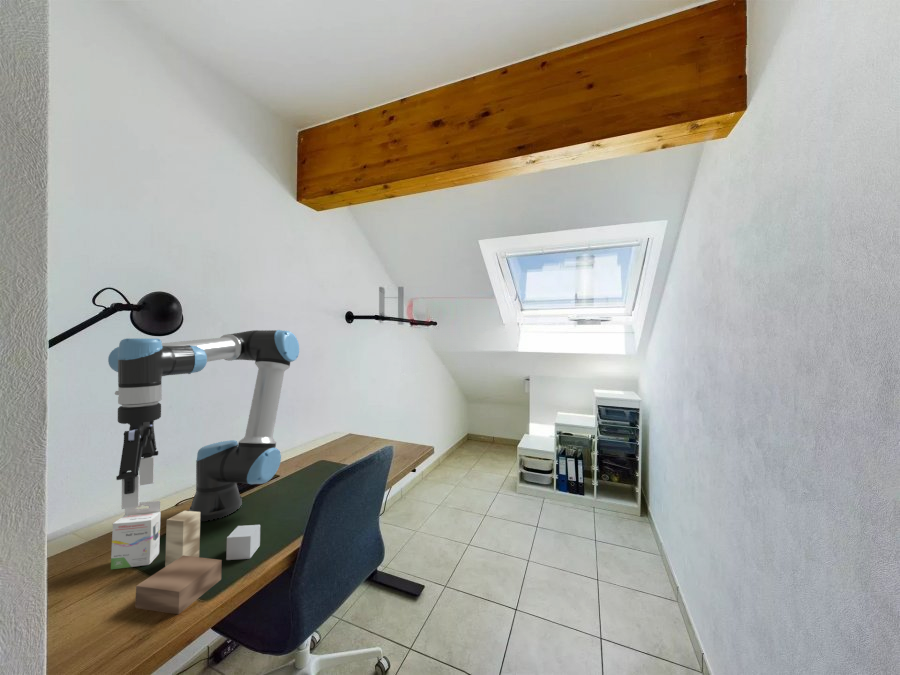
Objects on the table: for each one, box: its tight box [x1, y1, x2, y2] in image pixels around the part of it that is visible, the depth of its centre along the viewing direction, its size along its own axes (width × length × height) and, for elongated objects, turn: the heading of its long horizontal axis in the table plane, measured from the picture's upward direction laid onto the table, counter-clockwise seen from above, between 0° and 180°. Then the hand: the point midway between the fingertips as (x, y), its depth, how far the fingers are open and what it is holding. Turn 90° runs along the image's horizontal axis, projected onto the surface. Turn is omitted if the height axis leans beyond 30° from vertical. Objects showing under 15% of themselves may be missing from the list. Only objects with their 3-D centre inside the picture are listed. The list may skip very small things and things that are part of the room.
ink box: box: [110, 500, 162, 570], centre depth 90 cm, size 9×5×15 cm, turn 105°
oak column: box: [164, 510, 201, 567], centre depth 90 cm, size 5×5×12 cm
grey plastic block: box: [225, 524, 261, 561], centre depth 94 cm, size 6×6×6 cm
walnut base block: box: [134, 555, 223, 615], centre depth 78 cm, size 11×11×5 cm
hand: (139, 494), depth 79 cm, fingers open, 13 cm apart
